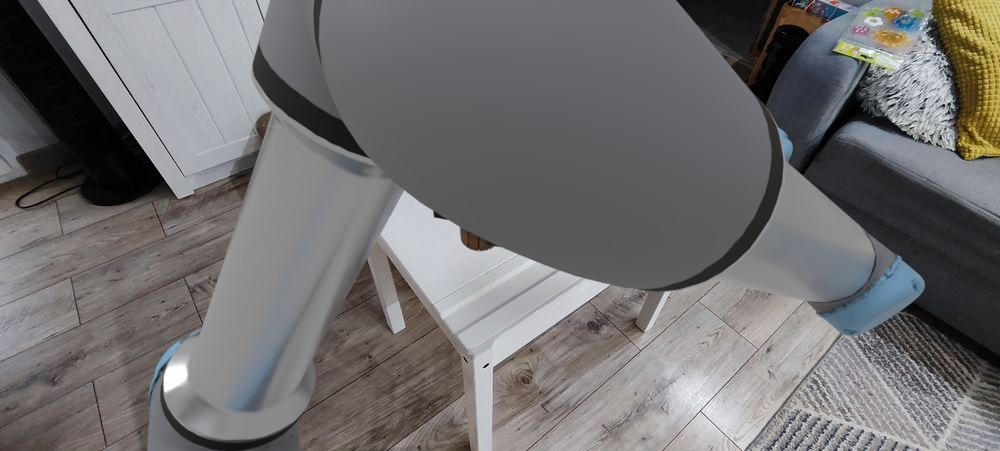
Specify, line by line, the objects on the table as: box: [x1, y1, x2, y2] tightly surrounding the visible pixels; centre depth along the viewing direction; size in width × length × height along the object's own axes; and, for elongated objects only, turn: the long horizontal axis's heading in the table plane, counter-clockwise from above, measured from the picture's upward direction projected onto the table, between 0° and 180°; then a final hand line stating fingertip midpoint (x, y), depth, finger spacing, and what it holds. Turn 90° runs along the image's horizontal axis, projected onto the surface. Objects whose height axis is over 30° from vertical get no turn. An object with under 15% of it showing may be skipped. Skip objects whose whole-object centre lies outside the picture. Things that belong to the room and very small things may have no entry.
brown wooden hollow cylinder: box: [459, 227, 495, 252], centre depth 60 cm, size 6×6×14 cm
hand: (441, 191), depth 60 cm, fingers closed on brown wooden hollow cylinder, 6 cm apart
